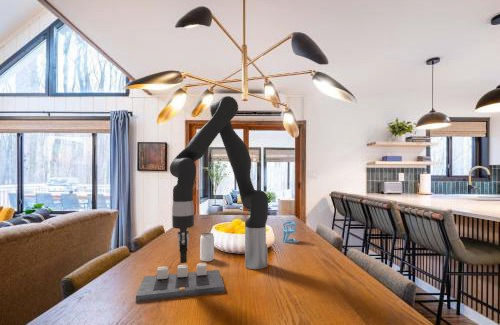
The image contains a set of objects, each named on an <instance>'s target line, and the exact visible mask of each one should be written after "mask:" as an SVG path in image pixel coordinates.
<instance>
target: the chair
mask: <svg viewBox="0 0 500 325" xmlns="http://www.w3.org/2000/svg"><path fill="white" fill-rule="evenodd" d="M282 225H283V229H282V232H283V237H282V243H284V244H299V241H300V240H297V239H295V238H294V237H292V238H289V236H290V235H292V234H293V233H297V232H298V231H297V230H296V226H297V224H296V222H295V221H287V222H284V223H282ZM293 226H294V227H293ZM289 227H290V228H289Z"/></svg>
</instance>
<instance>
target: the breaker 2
mask: <svg viewBox="0 0 500 325" xmlns="http://www.w3.org/2000/svg"><path fill="white" fill-rule="evenodd" d="M207 266H208V265H207V262H203V263H197V264H196V272H197V276H199V275H207V271H208V269H207Z"/></svg>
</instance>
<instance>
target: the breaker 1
mask: <svg viewBox="0 0 500 325" xmlns="http://www.w3.org/2000/svg"><path fill="white" fill-rule="evenodd" d="M156 269H157V273H156V274H157V279H167V278H168V274H169V266H168V265H167V266H158V267H157V268H156Z"/></svg>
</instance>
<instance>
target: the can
mask: <svg viewBox="0 0 500 325" xmlns="http://www.w3.org/2000/svg"><path fill="white" fill-rule="evenodd" d="M199 239H200V240H199V242H200V243H199V245H200V246H199V252H200V253H199V260H200V261H201V262H203V263H207V262H212V261H214V260H215V237H214V233H213V232H204V233H203V232H202V233H201V235H200V238H199Z"/></svg>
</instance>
